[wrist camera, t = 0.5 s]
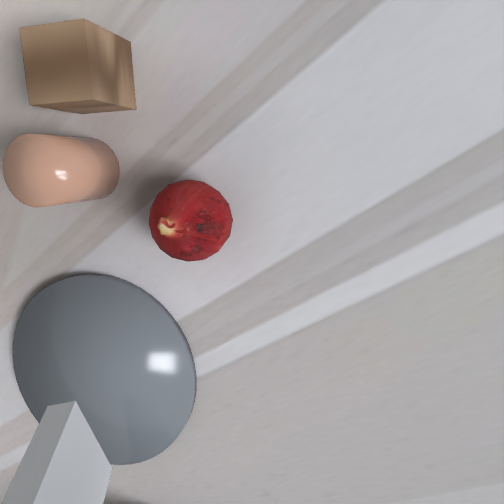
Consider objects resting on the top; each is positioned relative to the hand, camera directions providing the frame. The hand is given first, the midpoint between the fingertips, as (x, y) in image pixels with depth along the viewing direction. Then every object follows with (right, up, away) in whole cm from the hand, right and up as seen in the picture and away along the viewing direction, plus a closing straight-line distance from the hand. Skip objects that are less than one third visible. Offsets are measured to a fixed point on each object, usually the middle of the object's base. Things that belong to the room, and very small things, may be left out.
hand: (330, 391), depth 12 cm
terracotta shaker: (-15, +11, +26) cm, 32 cm away
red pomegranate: (-5, +7, +24) cm, 26 cm away
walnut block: (-14, +17, +24) cm, 33 cm away
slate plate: (-16, -7, +29) cm, 34 cm away
